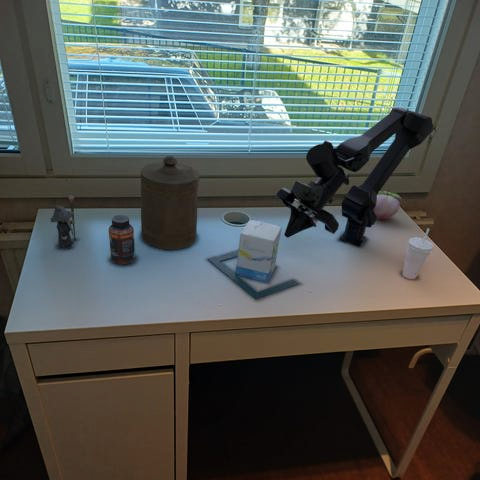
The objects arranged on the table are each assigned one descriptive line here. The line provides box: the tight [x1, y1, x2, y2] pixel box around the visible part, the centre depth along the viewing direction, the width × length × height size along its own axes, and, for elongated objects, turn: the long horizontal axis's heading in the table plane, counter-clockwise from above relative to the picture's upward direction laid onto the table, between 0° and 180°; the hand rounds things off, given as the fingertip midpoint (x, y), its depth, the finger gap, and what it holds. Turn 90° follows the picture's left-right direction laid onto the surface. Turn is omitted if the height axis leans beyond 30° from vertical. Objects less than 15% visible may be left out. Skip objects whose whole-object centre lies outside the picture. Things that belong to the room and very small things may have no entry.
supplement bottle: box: [108, 214, 136, 266], centre depth 115 cm, size 6×6×11 cm
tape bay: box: [207, 250, 299, 300], centre depth 120 cm, size 14×20×1 cm
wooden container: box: [140, 155, 200, 250], centre depth 123 cm, size 15×15×22 cm
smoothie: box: [401, 227, 434, 280], centre depth 122 cm, size 6×6×14 cm
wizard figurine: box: [49, 194, 76, 250], centre depth 118 cm, size 8×6×12 cm
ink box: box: [235, 219, 283, 283], centre depth 117 cm, size 8×8×12 cm
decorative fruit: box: [373, 189, 403, 220], centre depth 150 cm, size 9×8×10 cm
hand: (285, 236), depth 120 cm, fingers closed
